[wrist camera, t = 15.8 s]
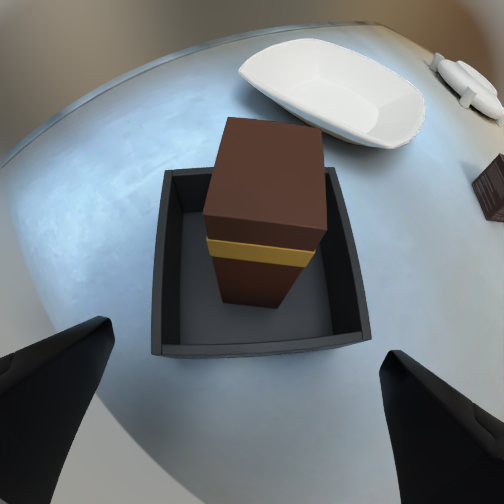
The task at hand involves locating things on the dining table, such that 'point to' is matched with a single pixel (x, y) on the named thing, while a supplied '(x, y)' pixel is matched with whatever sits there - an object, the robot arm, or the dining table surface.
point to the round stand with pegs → (470, 87)
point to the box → (492, 189)
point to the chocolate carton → (264, 209)
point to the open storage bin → (240, 316)
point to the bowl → (338, 92)
